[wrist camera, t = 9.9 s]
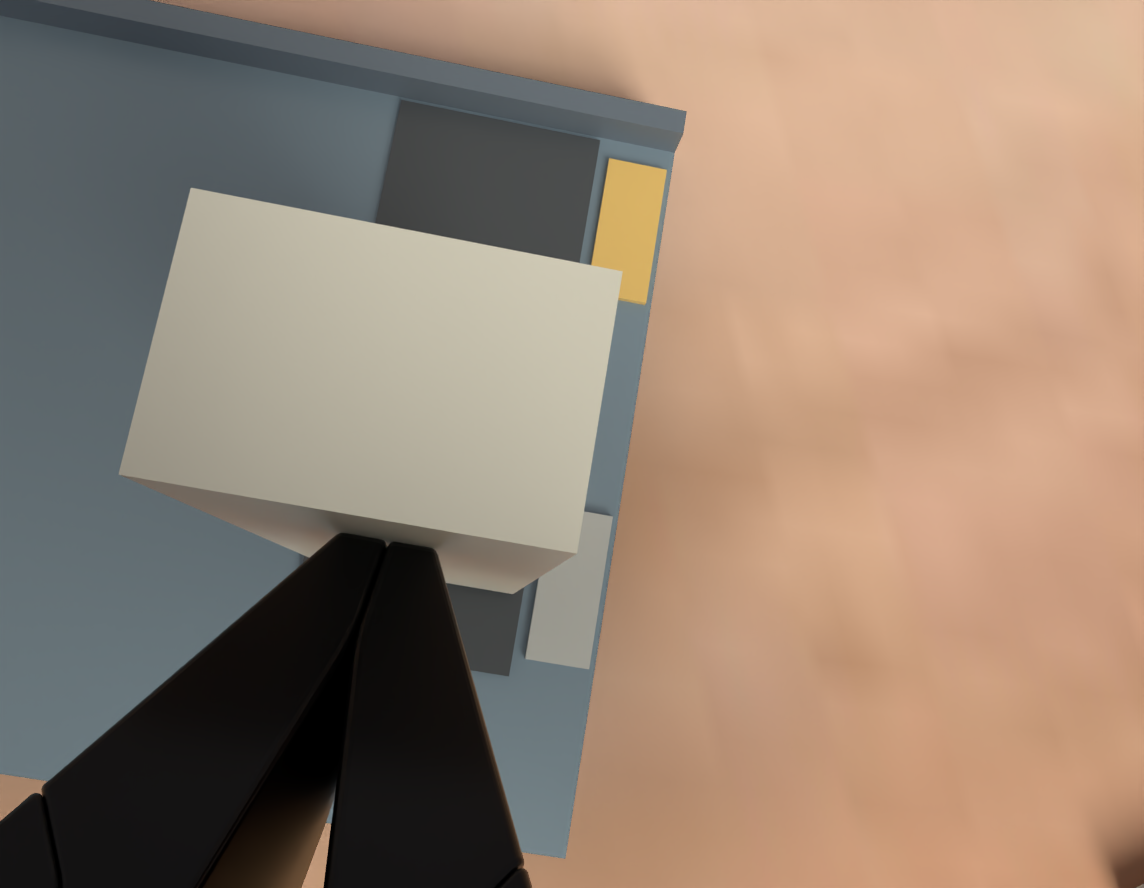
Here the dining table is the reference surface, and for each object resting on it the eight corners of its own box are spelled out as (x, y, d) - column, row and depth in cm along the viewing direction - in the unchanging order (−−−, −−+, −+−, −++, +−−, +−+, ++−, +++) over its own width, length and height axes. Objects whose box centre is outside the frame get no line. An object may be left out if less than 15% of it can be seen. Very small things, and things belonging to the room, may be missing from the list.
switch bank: (560, 847, 16) (570, 869, 15) (-661, 662, 15) (-785, 667, 13) (668, 153, 18) (686, 111, 17) (-380, -61, 17) (-459, -125, 16)
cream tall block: (512, 594, 16) (578, 553, 7) (317, 561, 15) (118, 473, 7) (535, 466, 16) (621, 271, 7) (343, 433, 16) (190, 187, 7)
